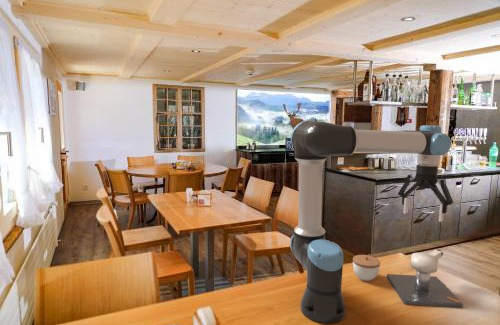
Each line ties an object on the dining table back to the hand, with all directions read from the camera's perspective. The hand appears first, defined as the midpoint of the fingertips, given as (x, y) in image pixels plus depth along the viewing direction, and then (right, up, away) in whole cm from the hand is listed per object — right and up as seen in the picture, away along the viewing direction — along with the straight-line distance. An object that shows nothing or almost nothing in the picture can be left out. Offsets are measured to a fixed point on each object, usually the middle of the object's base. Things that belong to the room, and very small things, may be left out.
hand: (422, 216), depth 136 cm
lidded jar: (-22, -26, +5) cm, 34 cm away
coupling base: (-3, -28, -5) cm, 29 cm away
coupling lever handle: (+1, -18, -3) cm, 18 cm away
